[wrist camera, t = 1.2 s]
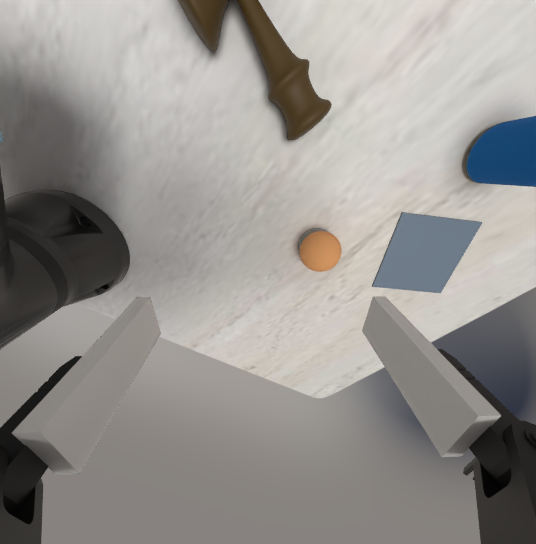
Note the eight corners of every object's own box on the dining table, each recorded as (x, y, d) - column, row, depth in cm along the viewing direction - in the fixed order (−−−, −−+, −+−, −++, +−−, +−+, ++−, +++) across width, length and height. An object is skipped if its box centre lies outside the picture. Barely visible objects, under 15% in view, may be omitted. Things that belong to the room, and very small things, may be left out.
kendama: (273, 159, 26) (141, -54, 18) (340, 104, 24) (225, -168, 16) (277, 157, 20) (92, -148, 12) (365, 85, 18) (210, -342, 10)
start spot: (296, 258, 31) (296, 259, 31) (302, 226, 29) (302, 226, 29) (327, 261, 32) (327, 262, 31) (336, 230, 29) (336, 230, 29)
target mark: (372, 286, 34) (372, 286, 34) (401, 212, 28) (402, 212, 28) (439, 292, 35) (440, 293, 34) (481, 222, 29) (482, 222, 29)
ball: (294, 259, 31) (299, 276, 26) (300, 224, 29) (308, 235, 24) (328, 263, 32) (340, 280, 27) (338, 228, 29) (353, 240, 24)
